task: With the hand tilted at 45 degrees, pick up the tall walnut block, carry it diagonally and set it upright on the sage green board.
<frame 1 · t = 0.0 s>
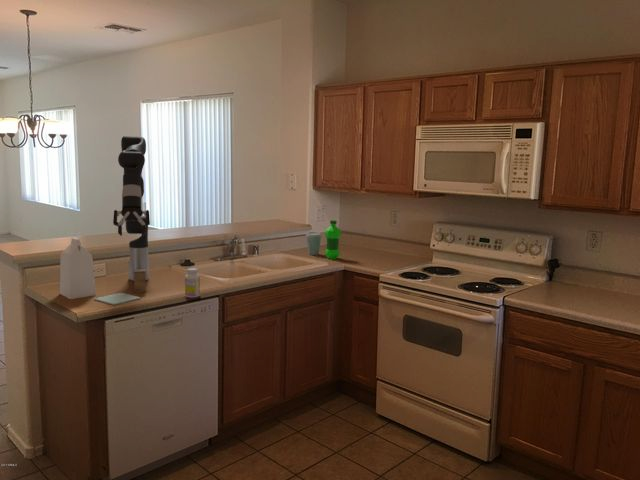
hand: (131, 235, 221), 31 cm above the worktop, tool tilted 20°, fingers open, 8 cm apart
walnut block: (140, 290, 256), on the worktop
milk: (77, 294, 246), on the worktop
supplement bottle: (192, 296, 249), on the worktop
plastic bottle: (332, 258, 353), on the worktop
disposable coffee cup: (313, 254, 367), on the worktop
sage board: (117, 299, 240), on the worktop
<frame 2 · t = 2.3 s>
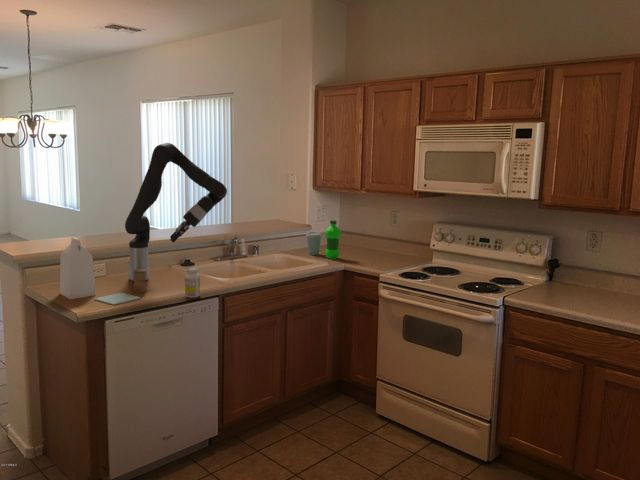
hand: (171, 239, 256), 24 cm above the worktop, tool tilted 45°, fingers open, 8 cm apart
nothing on the worktop moved.
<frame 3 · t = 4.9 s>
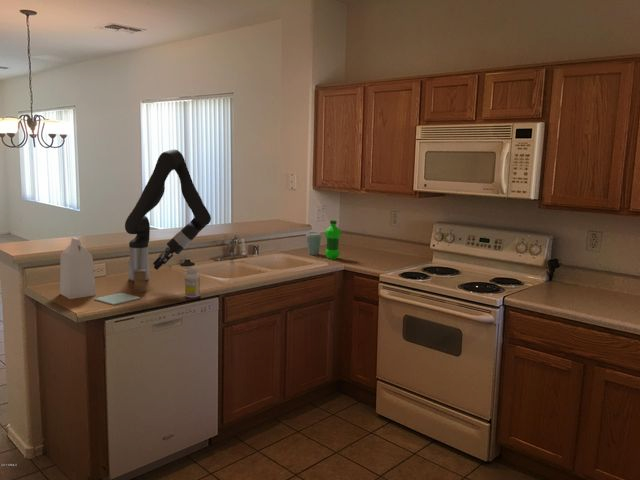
hand: (154, 266, 256), 11 cm above the worktop, tool tilted 45°, fingers open, 8 cm apart
nothing on the worktop moved.
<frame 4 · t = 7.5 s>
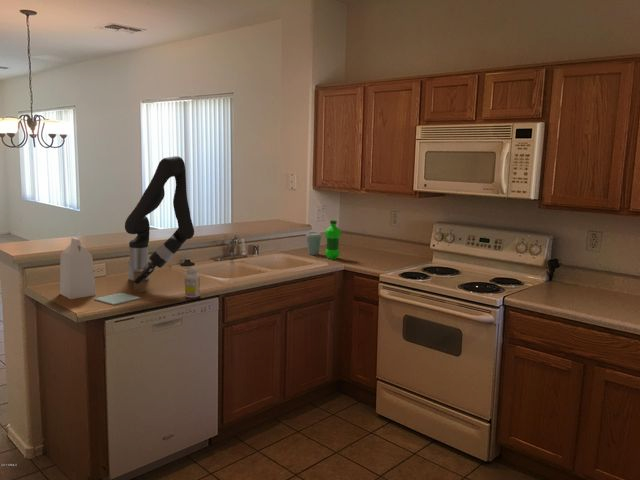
hand: (135, 281, 254), 5 cm above the worktop, tool tilted 45°, fingers closed on walnut block, 5 cm apart
walnut block: (140, 290, 256), on the worktop, touching gripper
everything else where it was.
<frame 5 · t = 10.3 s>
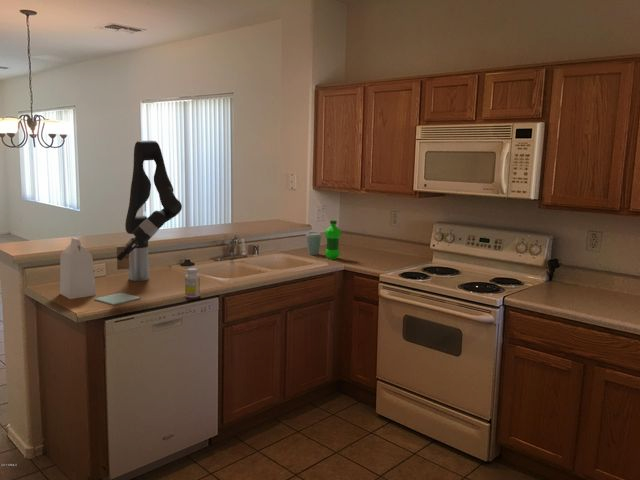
hand: (118, 258, 240), 18 cm above the worktop, tool tilted 45°, fingers closed on walnut block, 5 cm apart
walnut block: (123, 268, 241), point 14 cm above the worktop, touching gripper
everything else where it was.
when the fingers open (7 cm above the worktop, at t = 13.2 s): walnut block drops 1 cm, resting on sage board.
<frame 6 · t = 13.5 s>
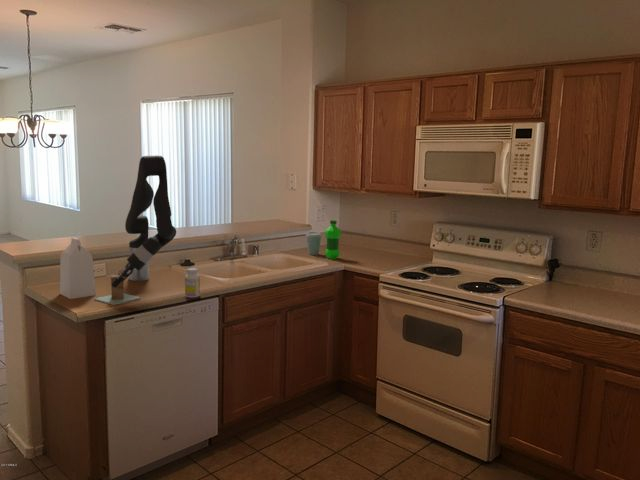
hand: (113, 284, 238), 7 cm above the worktop, tool tilted 45°, fingers open, 7 cm apart
walnut block: (117, 298, 240), point 1 cm above the worktop, touching sage board
everything else where it was.
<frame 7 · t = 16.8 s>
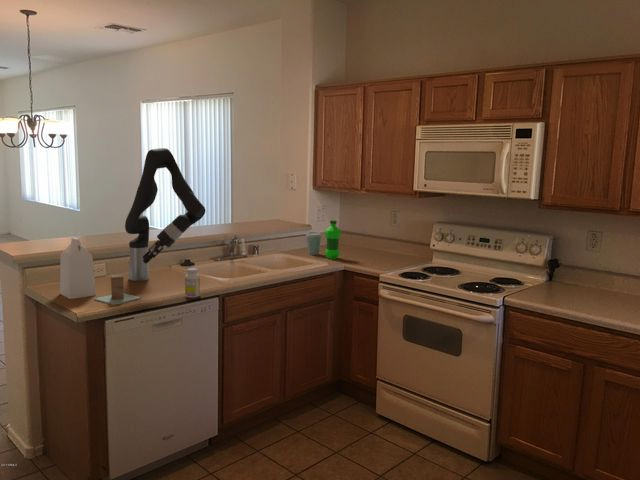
hand: (144, 260, 241), 17 cm above the worktop, tool tilted 45°, fingers open, 8 cm apart
nothing on the worktop moved.
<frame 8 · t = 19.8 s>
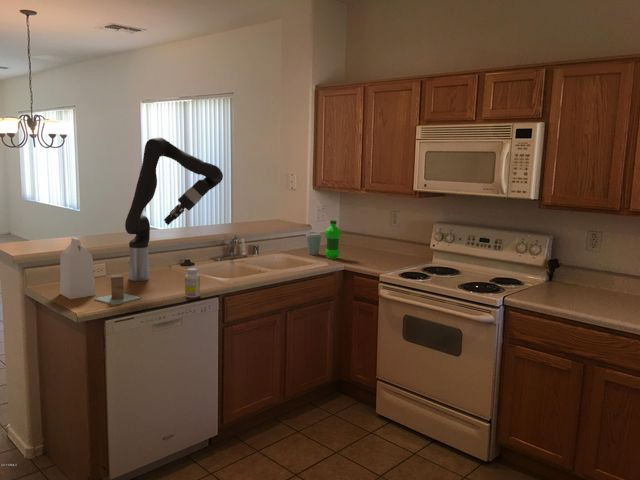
hand: (165, 222, 255), 33 cm above the worktop, tool tilted 45°, fingers open, 8 cm apart
nothing on the worktop moved.
at the end: walnut block inside the target area on the sage board (0.1 cm from its centre), point 0.6 cm above the sage board's base; walnut block tilted 0°; the gripper is holding nothing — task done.
